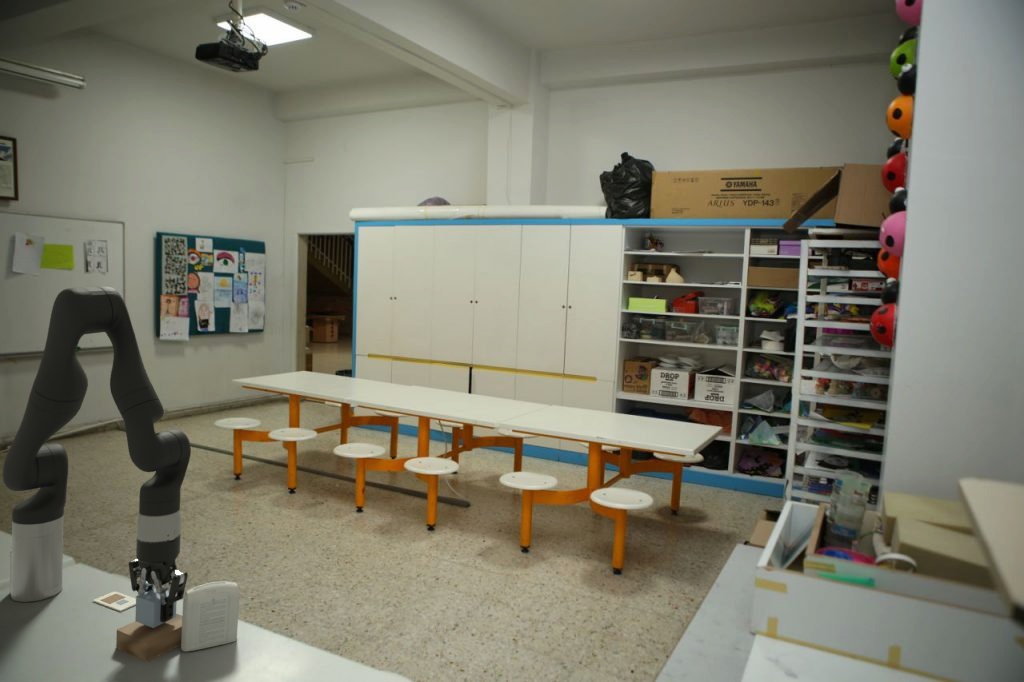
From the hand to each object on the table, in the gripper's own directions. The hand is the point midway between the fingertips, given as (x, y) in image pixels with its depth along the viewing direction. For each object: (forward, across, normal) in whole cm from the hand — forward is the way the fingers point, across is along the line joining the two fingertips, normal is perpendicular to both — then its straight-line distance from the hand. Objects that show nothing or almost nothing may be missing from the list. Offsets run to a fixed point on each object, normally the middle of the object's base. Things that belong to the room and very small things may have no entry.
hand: (156, 616), depth 127 cm
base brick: (+6, 0, 0) cm, 6 cm away
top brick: (0, 0, 0) cm, 0 cm away
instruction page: (+5, -21, +7) cm, 23 cm away
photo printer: (+6, +9, +5) cm, 12 cm away
